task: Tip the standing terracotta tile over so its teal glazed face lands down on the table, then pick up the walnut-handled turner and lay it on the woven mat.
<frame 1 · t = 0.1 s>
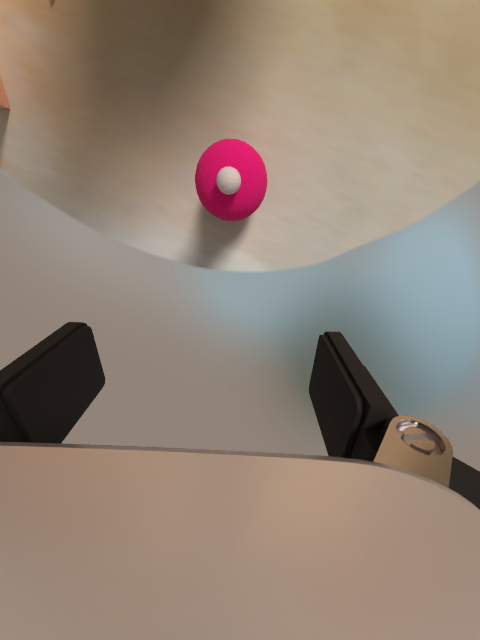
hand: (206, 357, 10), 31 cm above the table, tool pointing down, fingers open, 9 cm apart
pepper mill: (237, 187, 35), on the table
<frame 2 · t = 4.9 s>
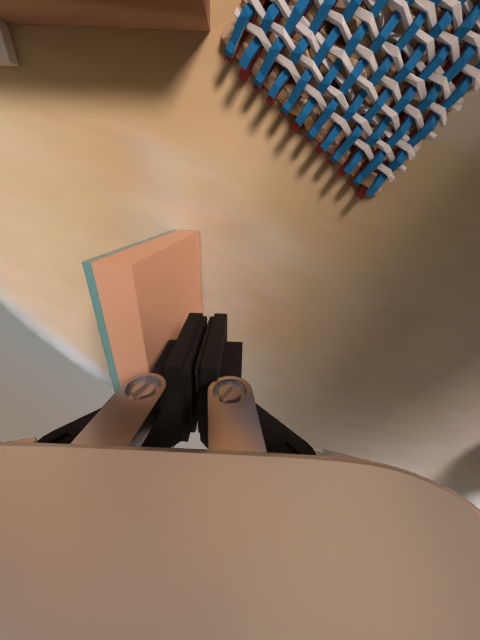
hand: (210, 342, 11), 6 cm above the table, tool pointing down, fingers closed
tile: (190, 293, 17), on the table, tilted 5°, touching gripper
woven mat: (375, 26, 11), on the table
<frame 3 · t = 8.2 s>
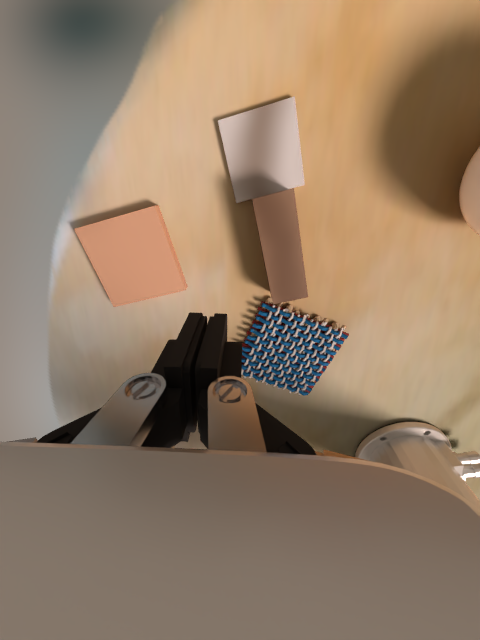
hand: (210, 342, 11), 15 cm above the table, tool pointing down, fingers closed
tile: (151, 295, 26), on the table, tilted 90°
turner: (277, 244, 24), on the table
woven mat: (286, 345, 30), on the table
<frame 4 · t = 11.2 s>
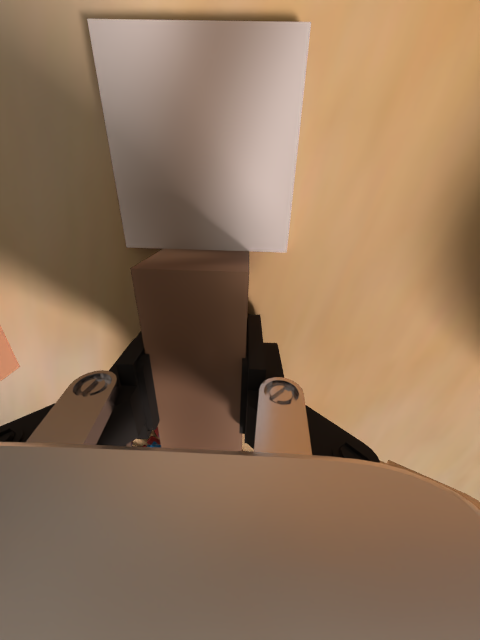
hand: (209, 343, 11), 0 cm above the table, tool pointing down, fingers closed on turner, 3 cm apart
turner: (211, 344, 12), on the table, touching gripper
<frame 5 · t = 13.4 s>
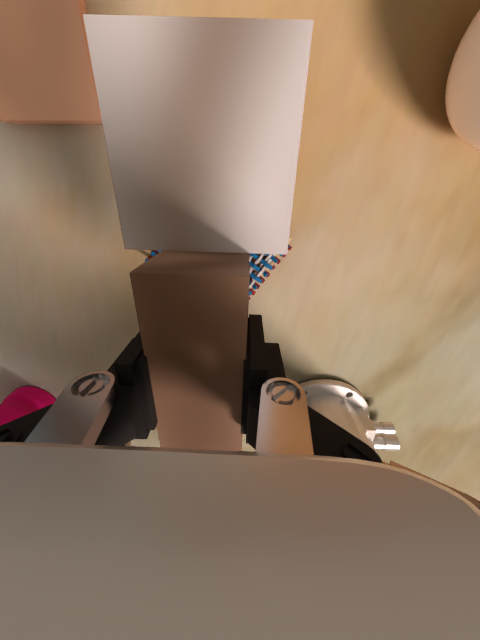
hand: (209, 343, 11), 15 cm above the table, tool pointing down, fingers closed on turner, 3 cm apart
tile: (55, 122, 20), on the table, tilted 90°
turner: (210, 345, 12), point 14 cm above the table, touching gripper
pepper mill: (38, 402, 34), on the table
woven mat: (220, 250, 25), on the table
when the fingers open (4 cm above the table, at t = 15.6 s): turner drops 2 cm, point 1 cm above the table.
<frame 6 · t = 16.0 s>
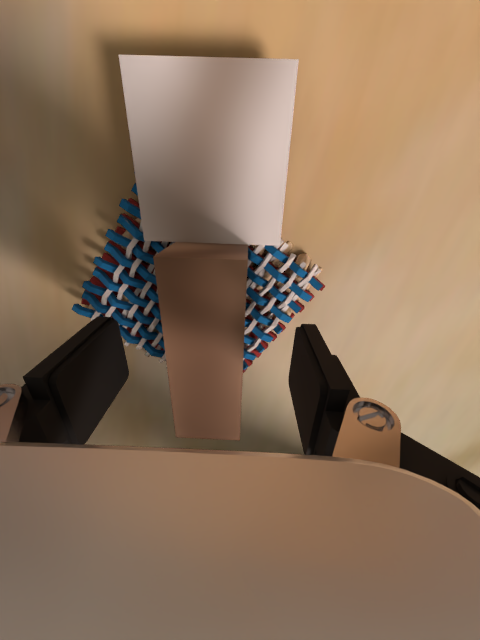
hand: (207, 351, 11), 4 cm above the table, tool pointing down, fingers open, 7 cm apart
turner: (214, 326, 14), point 1 cm above the table
woven mat: (202, 287, 15), on the table
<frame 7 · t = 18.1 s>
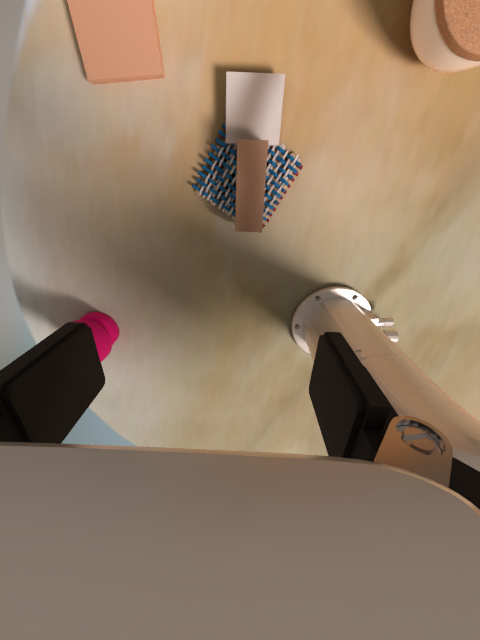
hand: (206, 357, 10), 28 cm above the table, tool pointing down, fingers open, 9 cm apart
tile: (128, 80, 27), on the table, tilted 90°
turner: (250, 189, 31), point 1 cm above the table, touching woven mat
lidded jar: (443, 20, 25), on the table
pepper mill: (101, 327, 42), on the table
woven mat: (247, 177, 32), on the table, touching turner
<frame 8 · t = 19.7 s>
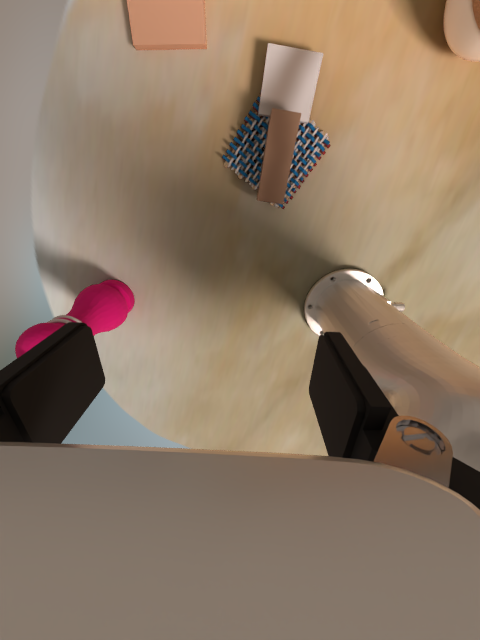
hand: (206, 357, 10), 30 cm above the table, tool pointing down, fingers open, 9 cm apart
tile: (171, 48, 28), on the table, tilted 90°
turner: (275, 163, 32), point 1 cm above the table, touching woven mat
lidded jar: (474, 13, 27), on the table
pepper mill: (116, 296, 42), on the table
woven mat: (274, 153, 33), on the table, touching turner
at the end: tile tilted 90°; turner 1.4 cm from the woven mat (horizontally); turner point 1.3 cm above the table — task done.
